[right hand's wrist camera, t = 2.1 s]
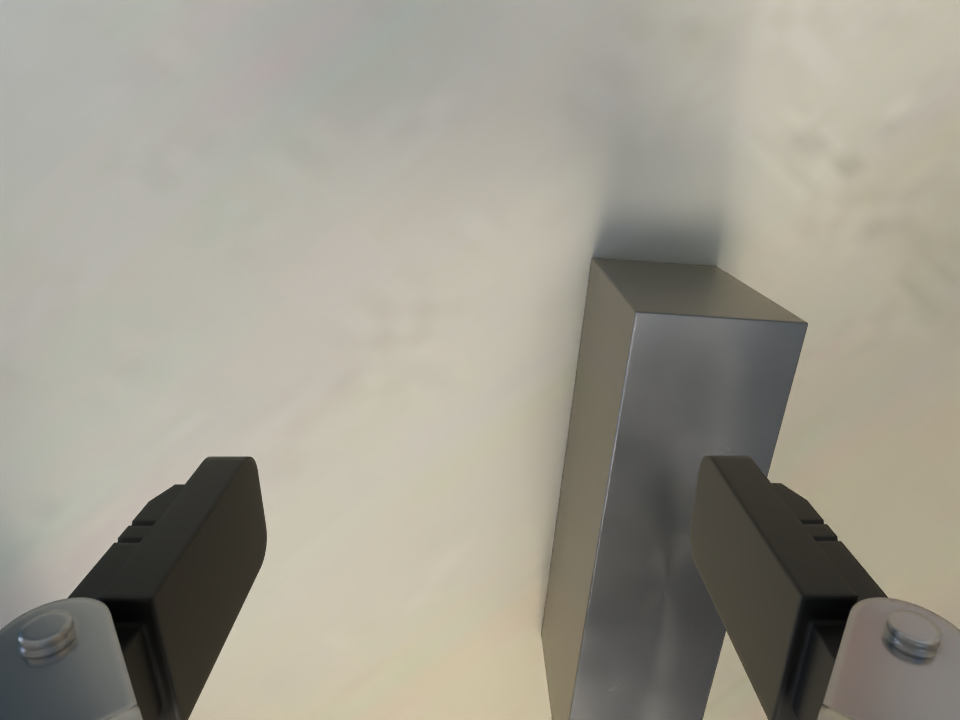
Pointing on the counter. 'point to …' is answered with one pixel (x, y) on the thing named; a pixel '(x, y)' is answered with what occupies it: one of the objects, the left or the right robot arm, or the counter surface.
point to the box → (654, 481)
